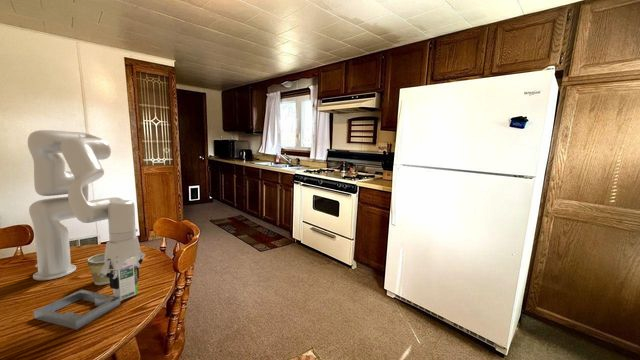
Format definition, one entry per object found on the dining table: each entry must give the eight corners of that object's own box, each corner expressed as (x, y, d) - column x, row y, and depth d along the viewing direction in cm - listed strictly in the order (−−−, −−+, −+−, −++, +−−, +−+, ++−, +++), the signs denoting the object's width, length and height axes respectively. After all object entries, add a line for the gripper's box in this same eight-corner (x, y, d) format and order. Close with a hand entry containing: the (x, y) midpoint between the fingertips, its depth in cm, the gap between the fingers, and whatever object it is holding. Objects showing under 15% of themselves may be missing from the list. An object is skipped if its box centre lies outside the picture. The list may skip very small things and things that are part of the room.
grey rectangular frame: (34, 318, 80) (33, 310, 80) (81, 296, 92) (81, 289, 92) (76, 329, 76) (76, 321, 75) (120, 304, 88) (120, 297, 88)
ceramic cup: (103, 289, 97) (101, 263, 96) (82, 285, 99) (80, 260, 98) (134, 273, 110) (133, 250, 109) (114, 270, 112) (113, 248, 111)
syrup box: (120, 301, 90) (117, 261, 88) (112, 296, 93) (110, 257, 92) (138, 294, 95) (136, 256, 93) (131, 289, 98) (129, 252, 96)
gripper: (137, 227, 101) (138, 271, 103) (87, 242, 84) (91, 293, 86) (152, 229, 99) (154, 273, 101) (105, 244, 82) (108, 297, 84)
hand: (125, 282), depth 93 cm, fingers closed on syrup box, 6 cm apart
